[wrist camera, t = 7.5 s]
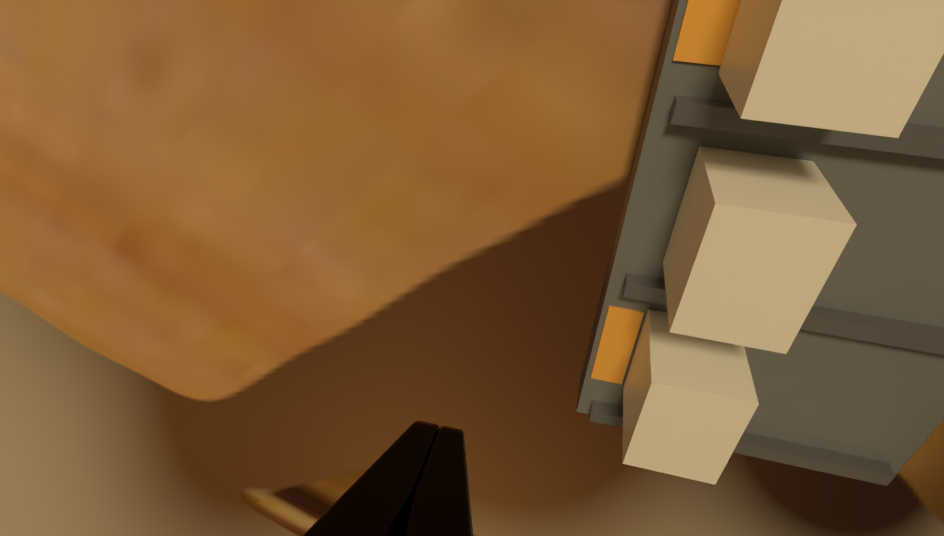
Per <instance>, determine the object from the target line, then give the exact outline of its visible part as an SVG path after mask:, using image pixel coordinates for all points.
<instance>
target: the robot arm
mask: <svg viewBox="0 0 944 536" xmlns="http://www.w3.org/2000/svg"><path fill="white" fill-rule="evenodd" d="M303 536H473V529H472V518H471V507H470V497H469V486H468V474H467V464H466V453H465V442H464V433H463V431H462V430H460V429H456V428H451V427H446V426H442V427H440V428H439V426H438V425H436V424H432V423H428V422H423V421H416V422H414V423H413V424H412V425H411V426H410V427H409V428H408V429H407V430H406V431H405V432H404V433H403V434H402V435H401V436H400V437H399V438H398V439H397V440H396V441H395V442H394V443H393V444H392V445H391V446H390V447H389V448H388V449H387V450H386V451H385V452H384V453H383V455H382V456H381V457H380V458H379V459H378V460H377V461H376V462H375V463H374V464H373V465H372V466H371V467H370V468H369V469H368V470H367V471H366V472H365V473H364V474H363V475H362V476H361V477H360V478H359V479H358V480H357V481H356V482H355V483H354V484H353V485H352V486H351V487H350V488H349V489H348V490H347V491H346V492H345V493H344V494H343V495H342V496H341V497H340V498H339V499H338V500H337V501H336V502H335V503H334V504H333V505H332V506H331V507H330V508H329V510H328V511H327V512H326V513H325V514H324V515H323V516H322V517H321V518H320V519H319V520H318V521H317V522H316V523H315V524H314V525H313V526H312V527H311V528H310V529H309V530H308V531H307V532H306V533H305V534H304V535H303Z"/></svg>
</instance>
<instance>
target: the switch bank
mask: <svg viewBox="0 0 944 536" xmlns="http://www.w3.org/2000/svg"><path fill="white" fill-rule="evenodd" d="M740 2H741V0H673V2H672V6H671V10H670V14H669V18H668V22H667V27H666V31H665V35H664V39H663V43H662V47H661V51H660V55H659V59H658V64H657V68H656V72H655V76H654V80H653V84H652V88H651V92H650V96H649V100H648V105H647V109H646V113H645V117H644V121H643V125H642V129H641V133H640V137H639V141H638V146H637V150H636V154H635V158H634V162H633V166H632V170H631V174H630V178H629V183H628V187H627V191H626V195H625V199H624V204H623V208H622V211H621V215H620V220H619V224H618V228H617V232H616V236H615V240H614V244H613V248H612V252H611V257H610V261H609V265H608V269H607V273H606V277H605V281H604V285H603V289H602V293H601V297H600V302H599V306H598V310H597V314H596V318H595V322H594V326H593V330H592V334H591V339H590V343H589V347H588V351H587V355H586V359H585V363H584V367H583V371H582V375H581V380H580V384H579V391H578V402H577V412H580V413H585V414H589V421H591V422H596V423H601V424H605V425H610V426H615V427H619V428H623V387H624V384H625V381H626V377H627V374H628V371H629V368H630V365H631V361H632V358H633V355H634V352H635V349H636V346H637V342H638V339H639V336H640V333H641V330H642V327H643V323H644V320H645V317H646V314H647V311H648V309H651V310H656V311H662V312H667V313H668V311H667V300H666V290H665V279H664V269H663V260H664V257H665V253H666V250H667V247H668V244H669V241H670V238H671V234H672V231H673V228H674V225H675V222H676V219H677V215H678V212H679V209H680V206H681V203H682V200H683V196H684V193H685V190H686V187H687V184H688V180H689V177H690V174H691V171H692V168H693V165H694V161H695V158H696V155H697V152H698V149H699V146H703V147H711V148H718V149H726V150H733V151H741V152H748V153H756V154H763V155H771V156H778V157H786V158H793V159H801V160H808V161H814V163H815V164H816V166H817V167H818V169H819V170H820V172H821V173H822V174H823V176H824V177H825V179H826V180H827V182H828V183H829V185H830V186H831V188H832V189H833V191H834V192H835V193H836V195H837V196H838V198H839V199H840V201H841V202H842V204H843V205H844V207H845V208H846V210H847V211H848V212H849V214H850V215H851V217H852V218H853V220H854V221H855V223H856V224H857V225H856V227H855V229H854V231H853V233H852V234H851V236H850V238H849V240H848V242H847V244H846V245H845V247H844V249H843V251H842V253H841V255H840V256H839V258H838V260H837V262H836V264H835V266H834V267H833V269H832V271H831V273H830V275H829V277H828V278H827V280H826V282H825V284H824V286H823V288H822V289H821V291H820V293H819V295H818V297H817V299H816V300H815V302H814V304H813V306H812V308H811V310H810V311H809V313H808V315H807V317H806V319H805V321H804V322H803V324H802V326H801V328H800V330H799V332H798V333H797V335H796V337H795V339H794V341H793V343H792V344H791V346H790V348H789V350H788V352H787V354H783V353H777V352H772V351H767V350H761V349H756V348H751V347H745V346H744V348H745V352H746V356H747V359H748V363H749V367H750V371H751V375H752V379H753V383H754V387H755V391H756V395H757V399H758V403H759V405H758V407H757V409H756V411H755V412H754V414H753V416H752V418H751V420H750V422H749V423H748V425H747V427H746V429H745V431H744V433H743V434H742V436H741V438H740V440H739V442H738V444H737V445H736V447H735V449H734V451H733V452H734V453H738V454H743V455H747V456H752V457H756V458H761V459H766V460H770V461H775V462H779V463H784V464H789V465H793V466H798V467H803V468H807V469H812V470H816V471H821V472H826V473H830V474H834V475H839V476H844V477H848V478H853V479H857V480H862V481H867V482H871V483H876V484H881V485H885V486H887V485H888V484H889V483H890V482H891V481H892V480H893V479H894V478H895V475H896V474H897V473H898V472H899V471H900V469H901V468H902V467H903V466H904V465H905V464H906V463H907V461H908V460H909V459H910V458H911V457H912V456H913V454H914V453H915V452H916V451H917V450H918V449H919V448H920V446H921V445H922V444H923V443H924V442H925V441H926V440H927V438H928V437H929V436H930V435H931V434H932V433H933V431H934V430H935V429H936V428H937V427H938V426H939V425H940V423H941V422H942V421H943V420H944V54H943V56H942V58H941V59H940V61H939V63H938V65H937V67H936V69H935V71H934V72H933V74H932V76H931V78H930V80H929V82H928V84H927V85H926V87H925V89H924V91H923V93H922V95H921V97H920V98H919V100H918V102H917V104H916V106H915V108H914V110H913V111H912V113H911V115H910V117H909V119H908V121H907V123H906V124H905V126H904V128H903V130H902V132H901V134H900V136H899V137H898V138H893V137H885V136H877V135H869V134H861V133H853V132H845V131H837V130H829V129H821V128H813V127H805V126H797V125H789V124H781V123H773V122H765V121H757V120H748V119H741V118H740V116H739V114H738V112H737V110H736V108H735V106H734V104H733V102H732V100H731V98H730V96H729V94H728V92H727V90H726V88H725V86H724V84H723V82H722V80H721V78H720V76H719V74H718V72H719V69H720V66H721V64H722V60H723V57H724V54H725V51H726V48H727V44H728V41H729V38H730V35H731V31H732V28H733V25H734V22H735V19H736V15H737V12H738V9H739V6H740Z"/></svg>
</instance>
